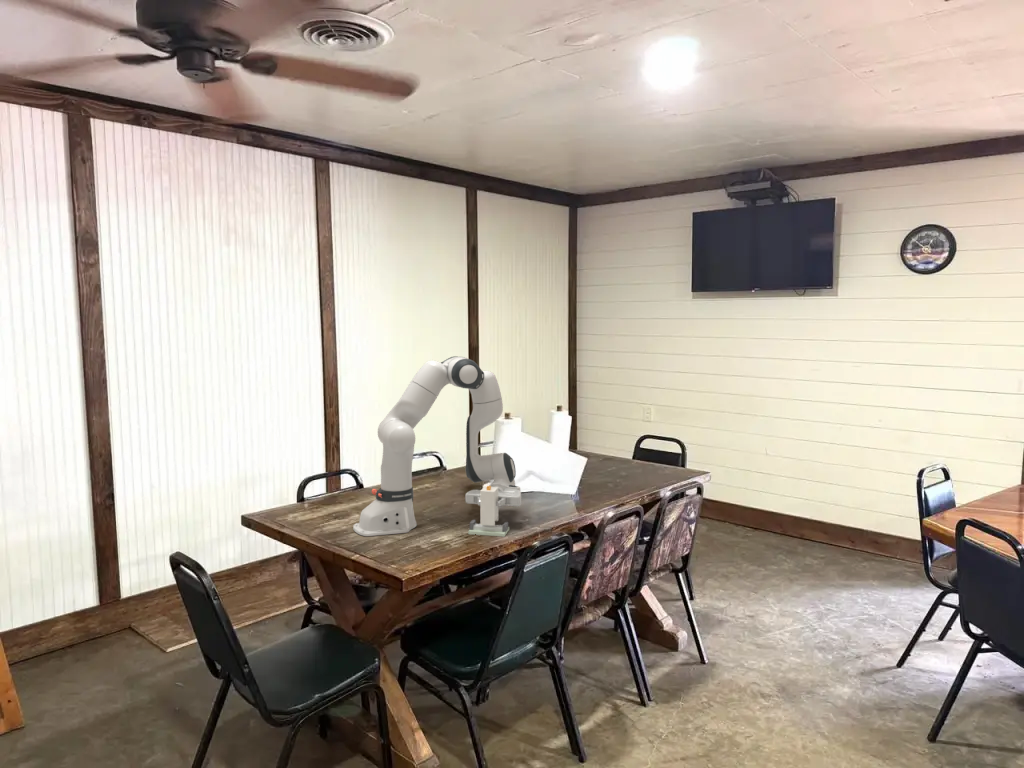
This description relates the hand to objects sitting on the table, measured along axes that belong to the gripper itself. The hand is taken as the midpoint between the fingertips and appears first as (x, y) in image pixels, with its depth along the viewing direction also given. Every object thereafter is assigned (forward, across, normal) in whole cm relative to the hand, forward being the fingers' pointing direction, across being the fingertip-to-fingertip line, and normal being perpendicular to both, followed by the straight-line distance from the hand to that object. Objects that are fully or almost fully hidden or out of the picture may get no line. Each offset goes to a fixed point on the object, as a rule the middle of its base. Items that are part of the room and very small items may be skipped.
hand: (488, 503), depth 244 cm
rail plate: (-1, 0, +10) cm, 10 cm away
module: (-1, 0, +7) cm, 7 cm away
